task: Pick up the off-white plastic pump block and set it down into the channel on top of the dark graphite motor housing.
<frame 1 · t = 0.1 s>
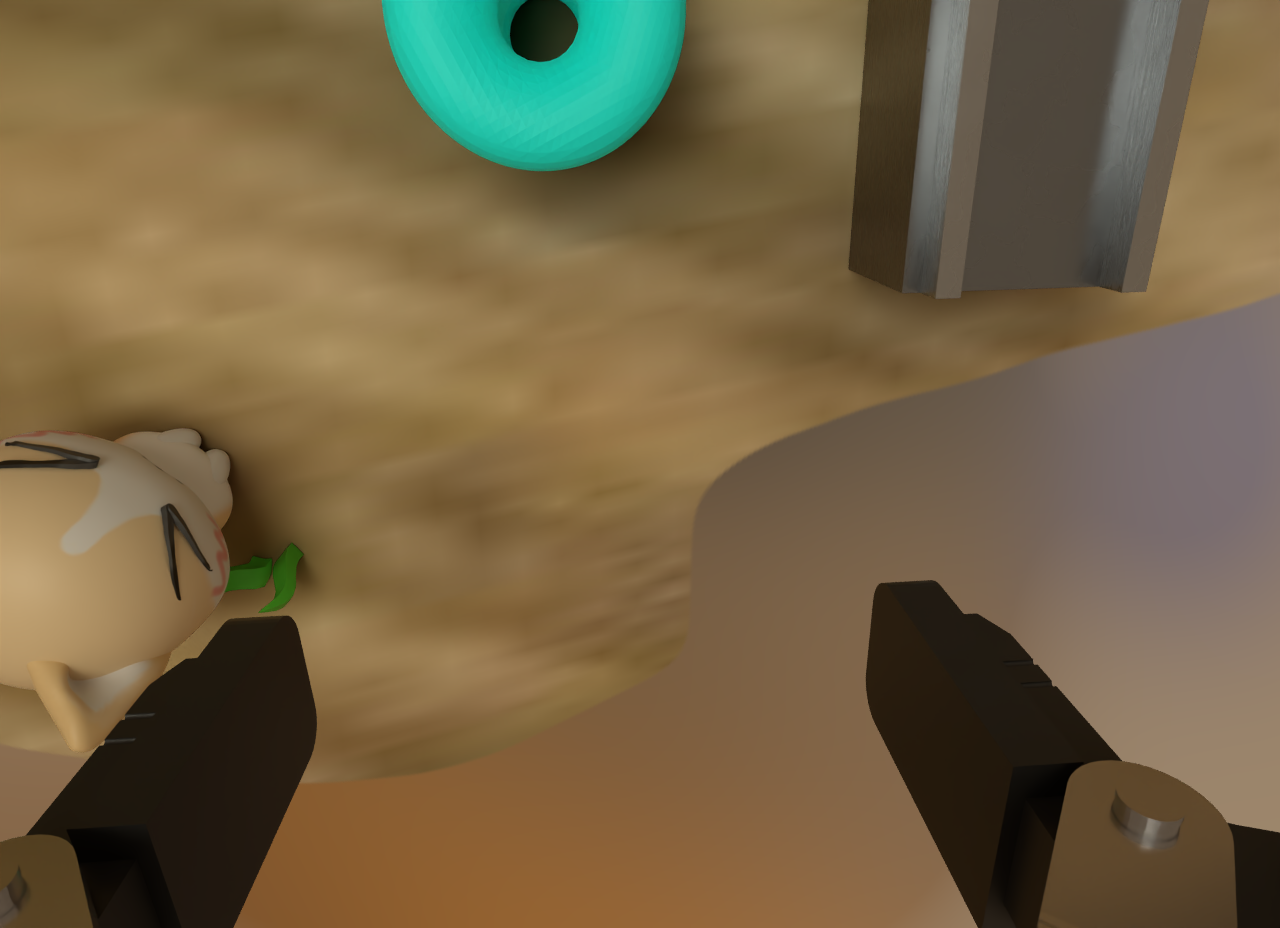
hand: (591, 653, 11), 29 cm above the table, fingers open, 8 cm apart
donuts: (548, 44, 34), on the table
motor housing: (964, 133, 36), on the table
kitten: (186, 486, 41), on the table
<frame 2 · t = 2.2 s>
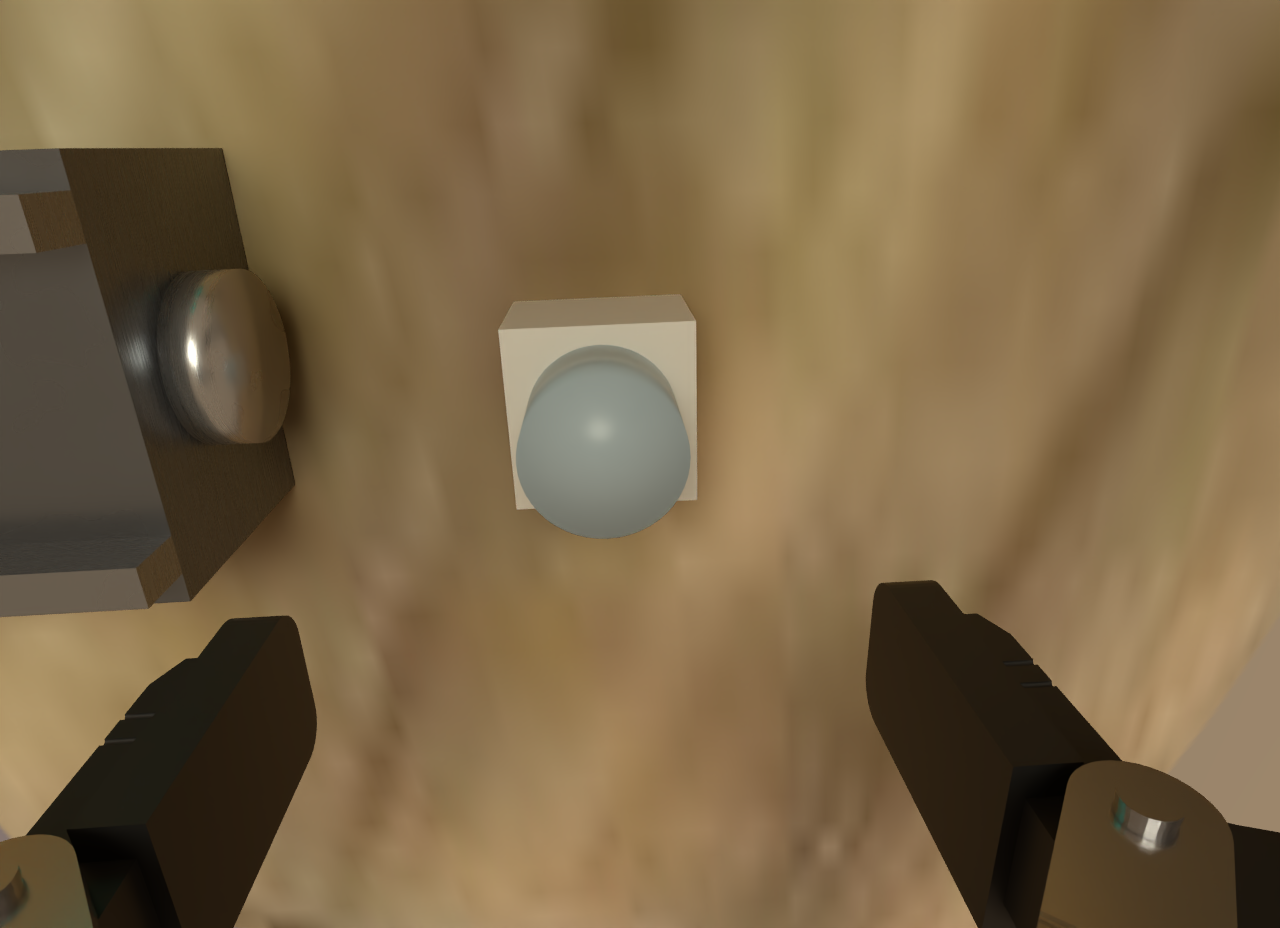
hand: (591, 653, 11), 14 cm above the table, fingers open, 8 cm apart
motor housing: (54, 339, 23), on the table
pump: (601, 378, 24), on the table
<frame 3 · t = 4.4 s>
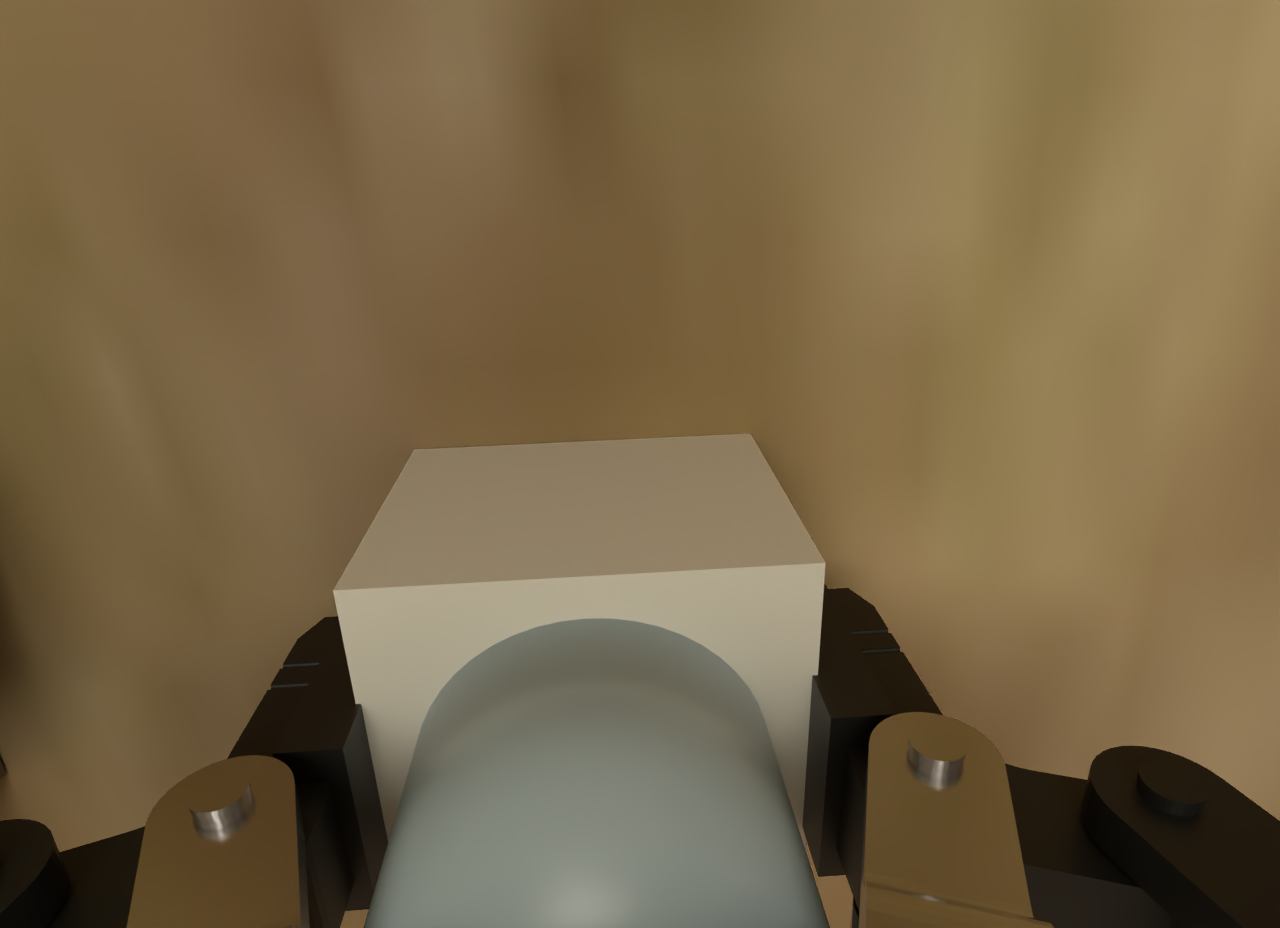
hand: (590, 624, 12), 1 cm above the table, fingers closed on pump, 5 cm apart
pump: (592, 587, 13), on the table, touching gripper
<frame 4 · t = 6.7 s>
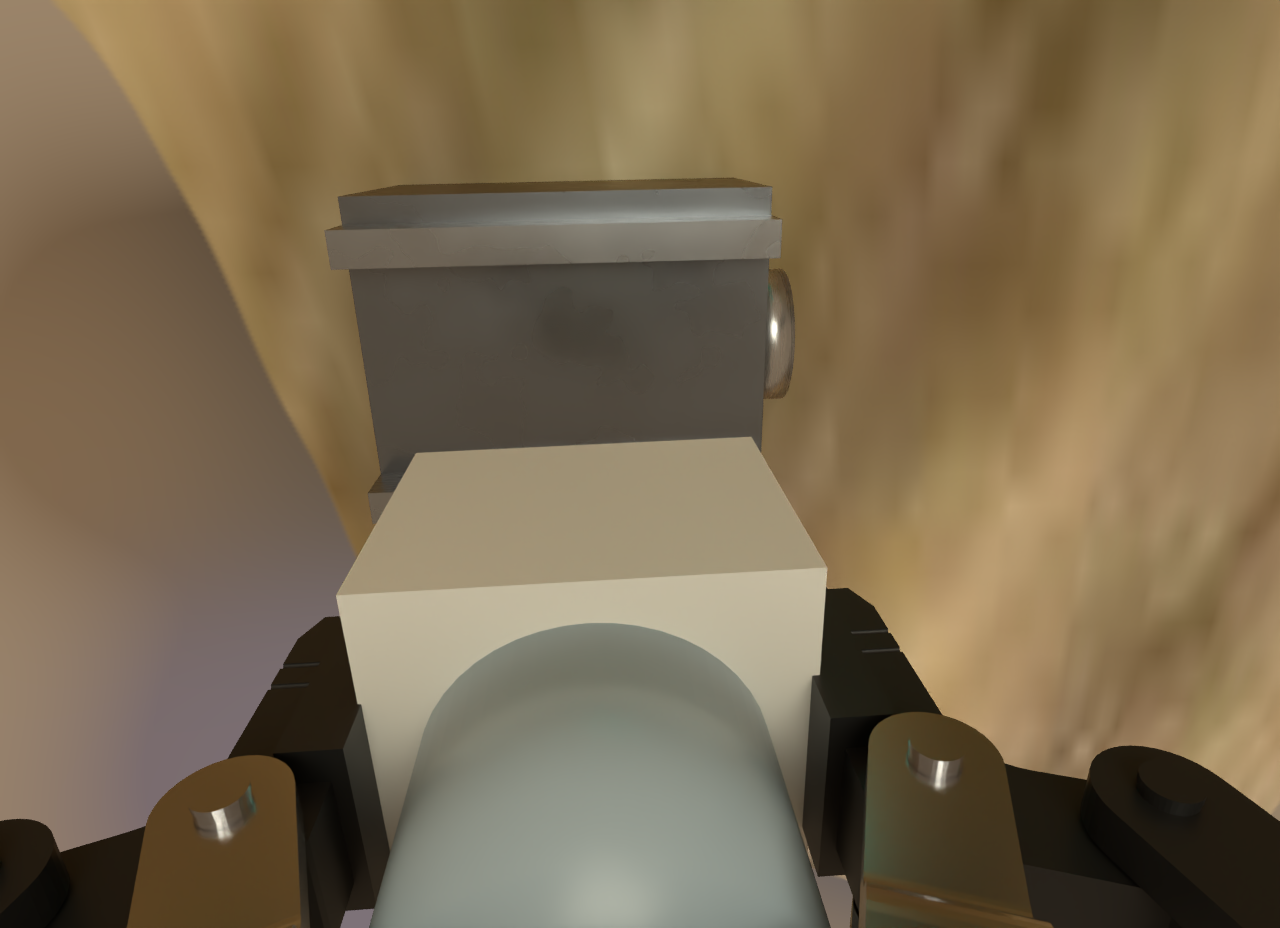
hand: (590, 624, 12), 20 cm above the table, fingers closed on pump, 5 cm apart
motor housing: (574, 319, 30), on the table
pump: (593, 590, 13), point 19 cm above the table, touching gripper
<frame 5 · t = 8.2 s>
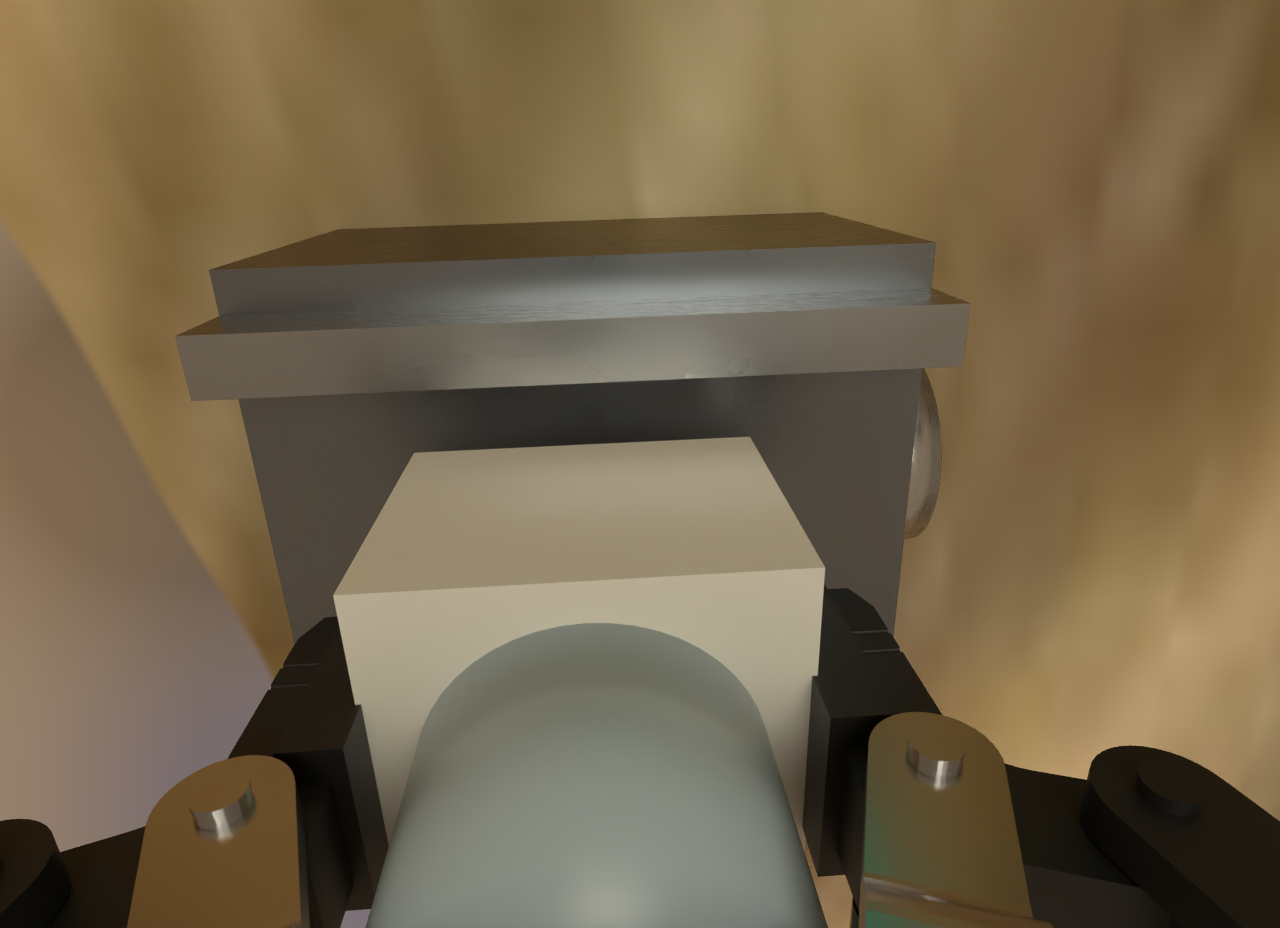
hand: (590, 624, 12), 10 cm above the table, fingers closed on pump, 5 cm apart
motor housing: (593, 412, 21), on the table
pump: (592, 590, 13), point 9 cm above the table, touching gripper
when the fingers open (9 cm above the table, at t = 9.3 s): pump stays where it is, resting on motor housing.
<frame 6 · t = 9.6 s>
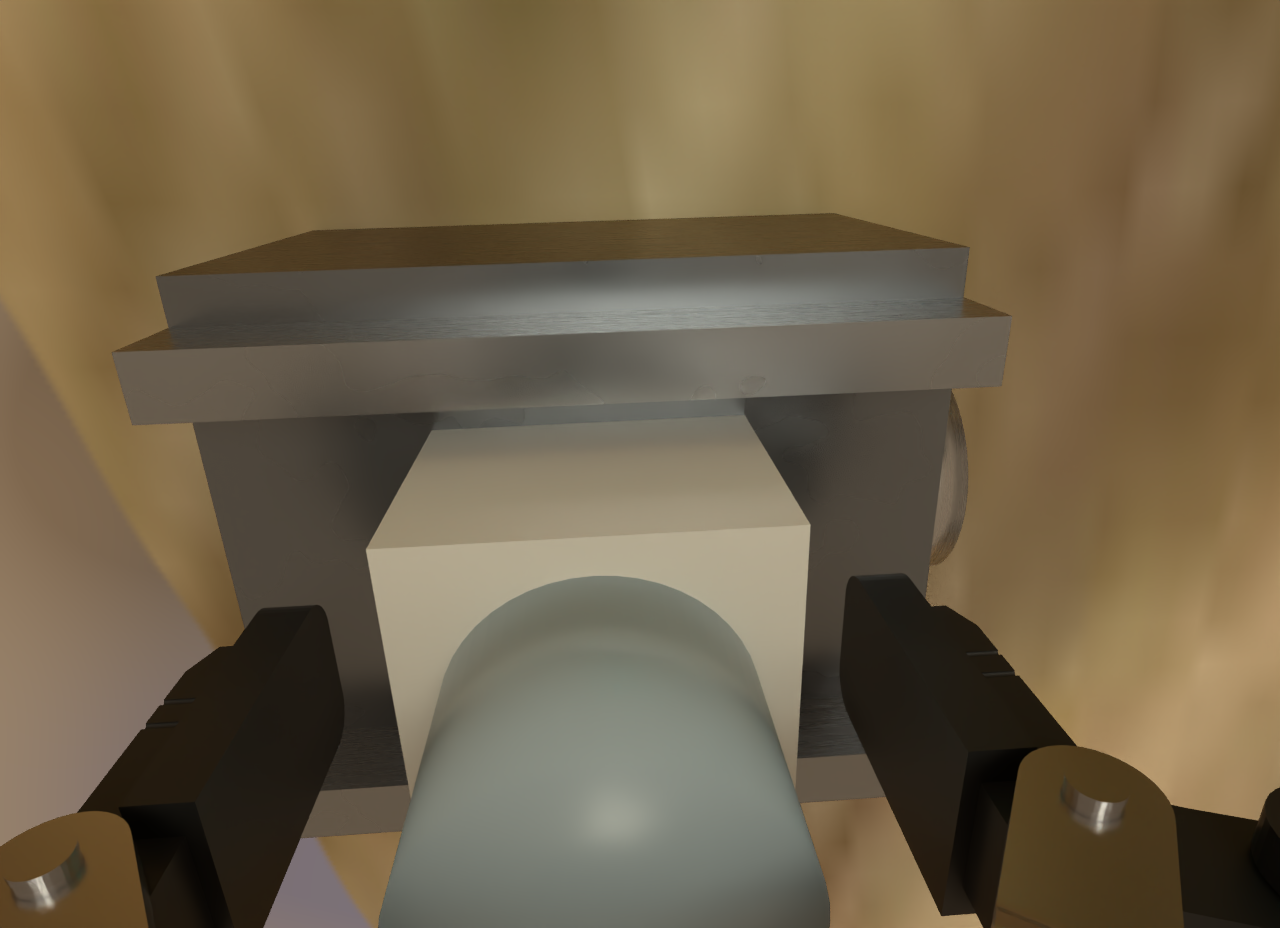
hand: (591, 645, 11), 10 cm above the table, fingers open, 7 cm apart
motor housing: (588, 426, 20), on the table
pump: (597, 560, 13), point 7 cm above the table, touching motor housing
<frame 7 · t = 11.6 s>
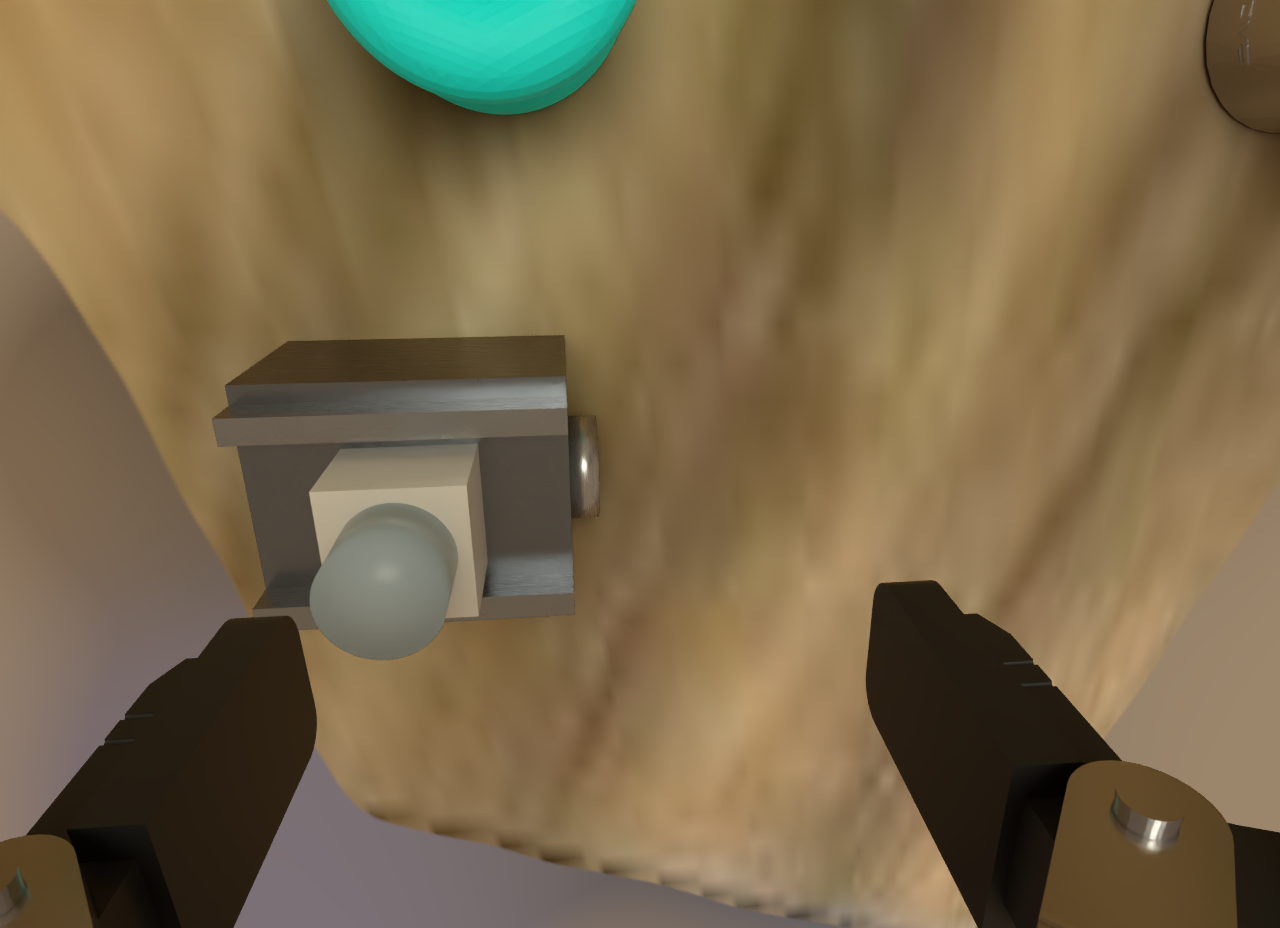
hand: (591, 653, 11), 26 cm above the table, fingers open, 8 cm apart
motor housing: (438, 444, 37), on the table
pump: (417, 507, 30), point 7 cm above the table, touching motor housing
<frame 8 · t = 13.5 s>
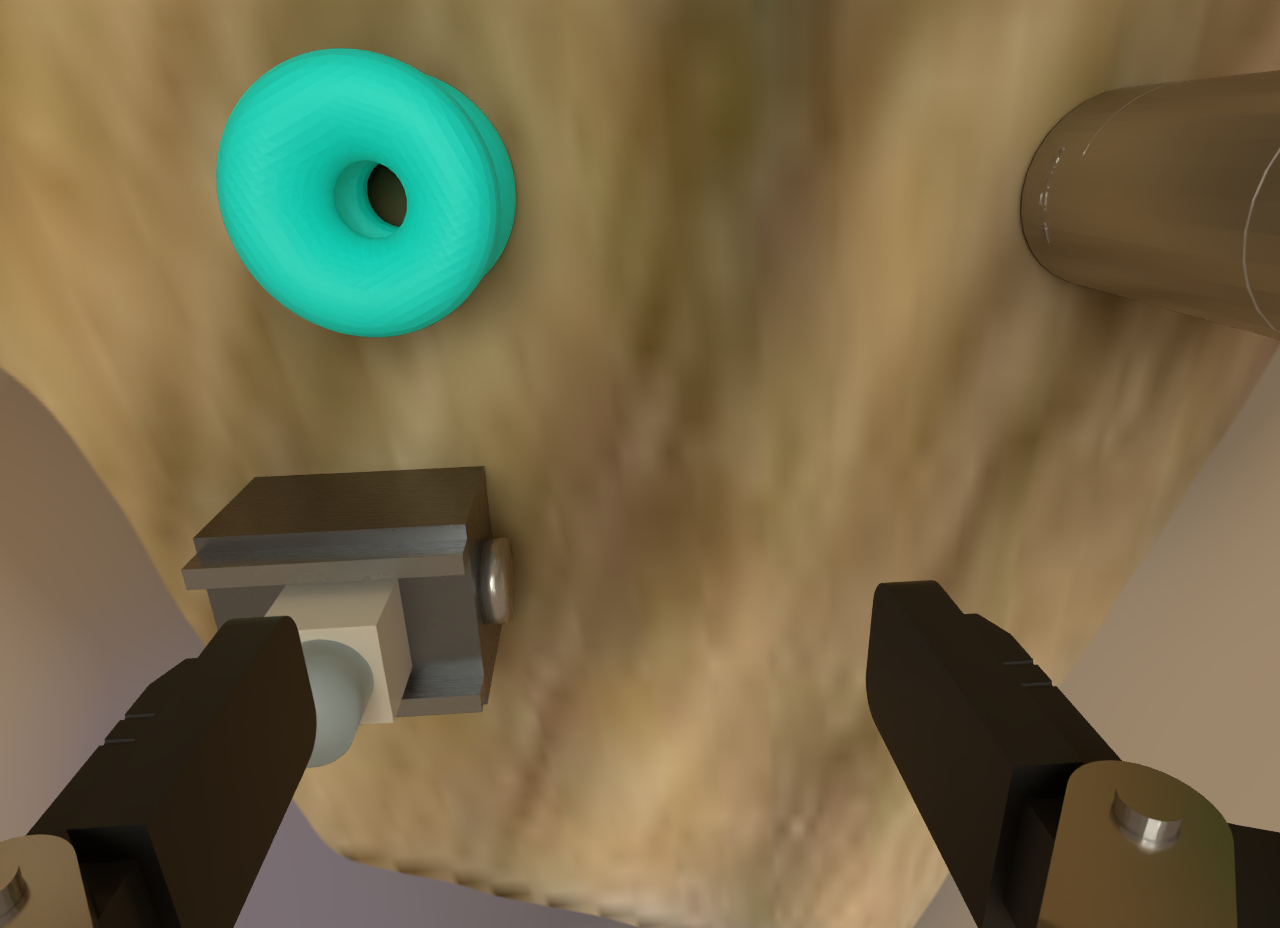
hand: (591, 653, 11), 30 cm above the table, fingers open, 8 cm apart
donuts: (411, 190, 37), on the table
motor housing: (384, 555, 43), on the table
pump: (351, 626, 37), point 7 cm above the table, touching motor housing
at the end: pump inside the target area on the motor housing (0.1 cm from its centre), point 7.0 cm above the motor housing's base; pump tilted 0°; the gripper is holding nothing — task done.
